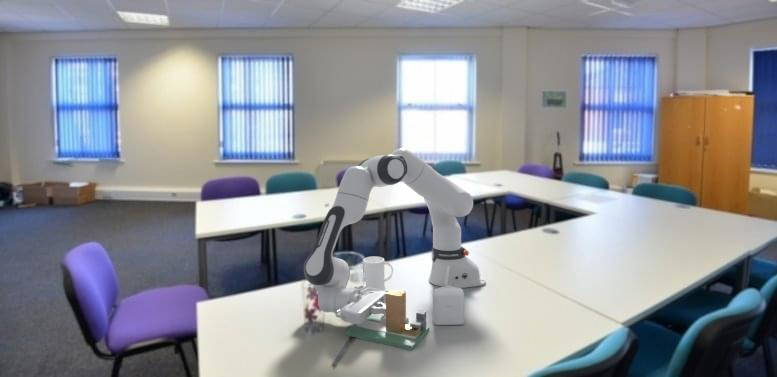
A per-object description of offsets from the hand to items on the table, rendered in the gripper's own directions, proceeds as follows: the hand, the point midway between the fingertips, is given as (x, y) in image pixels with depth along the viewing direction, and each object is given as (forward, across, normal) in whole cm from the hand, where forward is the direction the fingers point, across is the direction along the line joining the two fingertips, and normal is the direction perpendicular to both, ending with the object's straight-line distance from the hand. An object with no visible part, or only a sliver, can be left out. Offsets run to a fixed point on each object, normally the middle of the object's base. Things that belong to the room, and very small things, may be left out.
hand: (388, 310), depth 150 cm
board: (0, 0, +8) cm, 8 cm away
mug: (-19, +32, +8) cm, 38 cm away
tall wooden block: (+5, 0, +6) cm, 8 cm away
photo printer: (+15, +14, +8) cm, 22 cm away
